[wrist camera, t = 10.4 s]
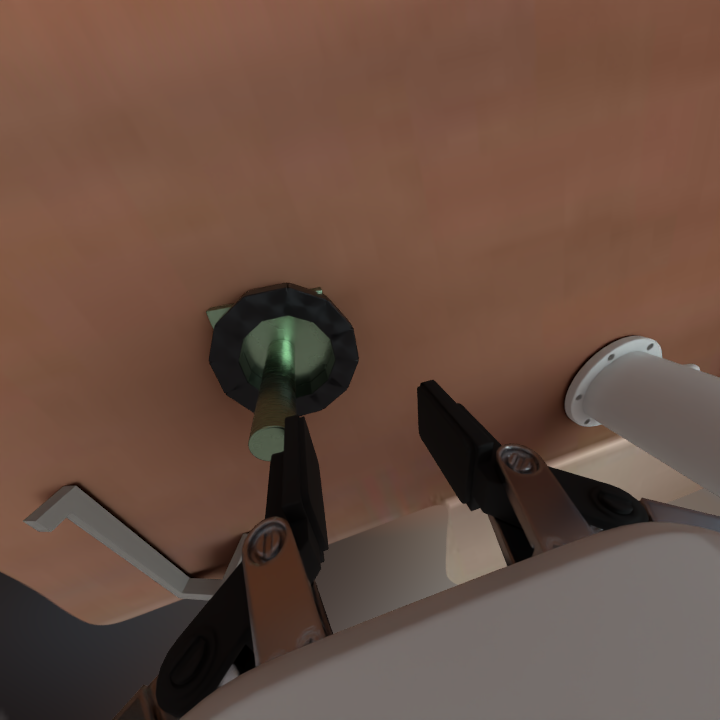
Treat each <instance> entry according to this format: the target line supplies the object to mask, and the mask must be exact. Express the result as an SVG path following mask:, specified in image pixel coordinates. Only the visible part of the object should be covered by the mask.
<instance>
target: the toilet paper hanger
mask: <svg viewBox="0 0 720 720" xmlns="http://www.w3.org/2000/svg"><path fill="white" fill-rule="evenodd" d="M65 518H68V519H69V520H71V521H72V522H73V523H75V524H76V525H78V526H79V527H80V528H82V529H83V530H85V531H86V532H87V533H89V534H90V535H92V536H93V537H94V538H96V539H97V540H99V541H100V542H101V543H103V544H104V545H106V546H107V547H108V548H110V549H111V550H113V551H114V552H115V553H117V554H118V555H120V556H121V557H122V558H124V559H125V560H127V561H128V562H129V563H131V564H132V565H134V566H135V567H136V568H138V569H139V570H141V571H142V572H143V573H145V574H146V575H148V576H149V577H150V578H152V579H153V580H155V581H156V582H157V583H159V584H160V585H162V586H163V587H164V588H166V589H167V590H168V591H170V592H171V593H173V594H174V595H175V596H177V597H178V598H183V599H199V600H210V599H211V598H212V597H213V595H214V594H215V593H216V592H217V590H218V589H219V588H220V587H221V586H222V584H223V583H224V582H225V581H226V580H227V578H228V577H229V576H230V575H231V574H232V572H233V571H234V570H235V569H236V567H237V566H238V565H239V564H240V563H241V561H242V547H243V544H244V540H245V539H246V537H247V535H248V534H243V535H242V537H241V540H240V542H239V544H238V546H237V548H236V551H235V553H234V555H233V557H232V559H231V562H230V564H229V566H228V568H227V570H226V573H225V575H224V577H223V579H199V578H189V577H188V576H187V575H185V574H184V573H183V572H182V571H180V570H179V569H178V568H177V567H176V566H174V565H173V564H172V563H171V562H169V561H168V560H167V559H166V558H164V557H163V556H162V555H161V554H160V553H158V552H157V551H156V550H155V549H153V548H152V547H151V546H150V545H148V544H147V543H146V542H145V541H143V540H142V539H141V538H140V537H139V536H137V535H136V534H135V533H134V532H132V531H131V530H130V529H129V528H127V527H126V526H125V525H124V524H123V523H121V522H120V521H119V520H118V519H116V518H115V517H114V516H113V515H111V514H110V513H109V512H108V511H107V510H105V509H104V508H103V507H102V506H100V505H99V504H98V503H97V502H95V501H94V500H93V499H92V498H91V497H89V496H88V495H87V494H86V493H84V492H83V491H82V490H81V489H79V488H78V487H77V486H63V487H62V488H61V489H60V490H59V491H57V492H56V493H55V494H54V495H53V496H52V497H50V498H49V499H48V500H47V501H46V502H45V503H43V504H42V505H41V506H40V507H39V508H38V509H36V510H35V511H34V512H33V513H32V514H31V515H29V516H28V517H27V518H26V519H25V520H23V522H25V523H26V524H28V525H29V526H31V527H33V528H34V529H36V530H37V531H39V532H52V531H53V530H54V529H55V528H56V527H57V526H58V525H59V524H60V523H61V522H62V521H63V520H64V519H65Z"/></svg>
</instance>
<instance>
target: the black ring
mask: <svg viewBox="0 0 720 720" xmlns="http://www.w3.org/2000/svg"><path fill="white" fill-rule="evenodd" d="M284 316H291V317H295V318H298V319H302V320H306V321H309V322H313V323H314V324H315V325H316V326H317V327H318V328H319V329H320V330H321V331H322V332H323V333H324V334H325V335H326V336H327V337H328V338H329V341H330V345H331V349H332V352H331V355H330V358H329V361H328V364H327V367H326V369H325V370H324V371H323V372H322V373H321V374H320V375H318V376H317V377H316V378H315V379H314V380H313V381H312V382H310V383H306V384H302V385H298V386H296V415H299V416H302V415H306V414H309V413H313V412H317V411H320V410H322V408H323V409H324V408H326V407H327V406H328V405H329V404H330V403H332V402H333V401H334V400H335V399H336V398H337V397H339V396H340V395H341V394H342V393H343V392H345V391H346V390H347V388H348V387H349V384H350V381H351V379H352V376H353V374H354V371H355V369H356V366H357V364H358V361H359V360H358V359H359V357H358V351H357V346H356V340H355V335H354V329H353V327H352V325H351V324H350V322H349V321H348V319H347V318H346V317H345V316H344V315H343V314H342V312H341V311H340V310H339V309H338V308H337V307H336V306H335V305H334V304H333V303H332V301H331V300H330V299H329V298H328V297H327V296H326V295H324V294H322V293H319V292H316V291H313V290H310V289H307V288H304V287H301V286H298V285H295V284H291V283H282V284H278V285H273V286H268V287H263V288H258V289H253V290H249V291H247V292H246V293H245V294H244V295H243V296H242V297H241V298H240V299H239V300H238V301H237V302H236V303H235V304H234V305H233V306H232V307H231V308H230V309H229V310H228V311H227V312H226V313H225V314H224V315H222V317H221V318H220V319H219V320H218V321H217V323H216V324H215V326H214V331H213V337H212V343H211V349H210V356H209V361H210V365H211V367H212V369H213V371H214V373H215V375H216V377H217V379H218V381H219V383H220V385H221V387H222V389H223V391H224V393H226V395H227V396H229V397H230V398H232V399H233V400H235V401H236V402H238V403H239V404H241V405H243V406H244V407H246V408H247V409H249V410H250V411H252V412H253V413H255V408H256V403H257V399H258V394H259V389H260V384H261V378H260V377H259V376H257V375H256V374H255V373H253V372H252V371H251V369H250V367H249V365H248V362H247V360H246V358H245V355H244V353H243V349H244V344H245V340H246V336H247V335H248V334H249V333H250V332H251V331H252V330H253V329H254V328H256V327H257V326H258V325H259V324H260V323H261V322H262V321H266V320H271V319H275V318H280V317H284Z"/></svg>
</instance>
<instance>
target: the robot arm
mask: <svg viewBox="0 0 720 720" xmlns="http://www.w3.org/2000/svg"><path fill="white" fill-rule="evenodd" d="M417 398H418V426H419V434H420V437H421V439H422V441H423V442H424V444H425V445H426V447H427V449H428V450H429V452H430V453H431V455H432V457H433V458H434V460H435V461H436V463H437V465H438V466H439V468H440V469H441V471H442V473H443V474H444V476H445V477H446V479H447V481H448V482H449V484H450V485H451V487H452V489H453V490H454V492H455V493H456V495H457V497H458V498H459V500H460V501H461V502H462V503H463V504H464V503H466V504H467V505H468V507H469V508H470V510H471V511H473V510H476V509H479V508H481V510H482V511H483V513H486V514H488V516H489V519H490V522H491V524H492V527H493V530H494V532H495V535H496V537H497V540H498V543H499V545H500V548H501V550H502V553H503V556H504V558H505V561H506V563H507V567H504V568H502V569H499V570H496V571H494V572H491V573H489V574H486V575H483V576H481V577H478V578H476V579H473V580H471V581H468V582H465V583H463V584H460V585H458V586H455V587H453V588H450V589H447V590H445V591H442V592H440V593H437V594H434V595H432V596H429V597H427V598H424V599H421V600H419V601H416V602H414V603H411V604H409V605H406V606H403V607H401V608H398V609H396V610H393V611H391V612H388V613H386V614H383V615H381V616H378V617H375V618H373V619H371V620H368V621H365V622H363V623H360V624H358V625H355V626H353V627H350V628H348V629H345V630H343V631H340V632H337V633H335V634H333V632H332V629H331V626H330V623H329V620H328V618H327V614H326V611H325V609H324V606H323V603H322V600H321V597H320V594H319V591H318V588H317V585H316V582H315V578H316V576H317V575H318V573H319V571H320V570H321V565H320V563H322V562H324V553H323V551H325V550H328V539H327V530H326V522H325V513H324V504H323V496H322V487H321V478H320V470H319V463H318V459H317V456H316V453H315V450H314V446H313V443H312V440H311V437H310V433H309V430H308V427H307V424H306V420H305V418H304V417H299V415H294V416H290V417H286V418H285V427H284V451H282V452H279V453H275V454H272V456H271V462H270V472H269V483H268V493H267V504H266V515H265V519H264V520H262V521H261V522H259V523H258V524H257V525H255V526H254V528H253V529H252V530H251V531H250V532H249V533H248V535H247V537H246V539H245V540H244V544H243V547H242V561H241V563H240V564H239V565H238V566H237V567H236V569H235V570H234V571H233V572H232V574H231V575H230V576H229V577H228V578H227V580H226V581H225V582H224V583H223V584H222V586H221V587H220V588H219V589H218V590H217V592H216V593H215V594H214V595H213V597H212V598H211V599H210V600H209V601H208V603H207V604H206V605H205V606H204V608H203V609H202V610H201V611H200V612H199V614H198V615H197V616H196V617H195V618H194V620H193V621H192V622H191V623H190V624H189V626H188V627H187V628H186V629H185V631H184V632H183V633H182V634H181V635H180V637H179V638H178V639H177V640H176V642H175V643H174V645H173V646H172V647H171V649H170V650H169V652H168V653H167V655H166V657H165V659H164V662H163V664H162V666H161V668H160V672H159V675H158V676H157V677H156V678H155V679H154V680H153V681H152V682H151V683H150V685H149V686H148V687H147V686H145V685H143V686H142V687H141V688H140V690H139V691H138V692H137V693H136V694H135V695H134V696H133V697H132V698H131V700H130V701H129V702H128V703H127V704H126V705H125V706H124V707H123V708H122V709H121V711H120V712H119V713H118V714H117V715H116V716H115V717H114V719H112V720H720V516H716V515H711V514H707V513H703V512H699V511H695V510H691V509H686V508H682V507H678V506H674V505H669V504H666V503H662V502H657V501H653V500H649V499H645V498H641V500H640V501H638V500H637V499H635V498H634V497H633V496H631V495H630V494H629V493H627V492H625V491H623V490H622V489H620V488H617V487H615V486H612V485H610V484H606V483H603V482H599V481H596V480H593V479H589V478H586V477H582V476H579V475H576V474H572V473H569V472H566V471H562V470H559V469H555V468H552V467H549V466H547V465H546V463H545V462H544V460H543V459H542V458H541V457H540V456H539V455H538V453H536V452H535V451H533V450H532V449H530V448H528V447H526V446H523V445H519V444H505V445H503V446H502V445H501V444H500V443H499V442H498V441H497V440H496V439H495V438H494V437H493V436H492V435H491V434H490V433H489V432H488V431H487V430H486V429H485V428H484V427H483V426H482V425H481V424H480V423H479V422H478V421H477V420H476V419H475V418H474V417H473V416H472V415H471V414H470V413H469V412H468V411H467V410H466V409H465V407H464V406H462V405H461V404H459V403H456V402H455V401H454V400H453V399H452V398H451V397H450V396H449V395H448V394H447V393H446V392H445V391H444V390H443V389H442V388H441V387H440V386H439V385H438V384H437V383H436V382H435V381H434V380H430V381H426V382H422V383H421V384H420V387H418V388H417ZM565 411H566V414H567V416H568V417H569V418H570V419H571V420H572V421H574V422H575V423H577V424H578V425H581V426H588V427H591V426H598V425H601V424H602V425H603V426H605V427H607V428H608V429H610V430H612V431H613V432H615V433H616V434H618V435H620V436H621V437H623V438H624V439H626V440H628V441H629V442H631V443H632V444H634V445H636V446H637V447H639V448H641V449H642V450H644V451H645V452H647V453H649V454H650V455H652V456H653V457H655V458H657V459H658V460H660V461H661V462H663V463H665V464H666V465H668V466H670V467H671V468H673V469H674V470H676V471H678V472H679V473H681V474H682V475H684V476H686V477H687V478H689V479H690V480H692V481H694V482H695V483H697V484H699V485H700V486H702V487H703V488H705V489H707V490H708V491H710V492H711V493H713V494H715V495H716V496H718V497H720V378H719V377H716V376H713V375H711V374H708V373H705V372H702V371H700V368H699V367H698V366H697V365H695V364H686V365H681V364H678V363H675V362H672V361H669V360H666V359H663V358H662V350H661V348H660V345H659V344H658V343H657V342H656V341H654V340H652V339H650V338H646V337H642V336H629V337H625V338H622V339H619V340H617V341H615V342H613V343H611V344H609V345H608V346H606V347H604V348H603V349H601V350H600V351H599V352H597V353H596V354H595V355H594V356H593V357H592V358H591V359H590V360H588V361H587V362H586V363H585V365H584V366H583V367H582V368H581V369H580V370H579V372H578V373H577V375H576V376H575V378H574V379H573V381H572V383H571V385H570V387H569V389H568V391H567V394H566V398H565Z"/></svg>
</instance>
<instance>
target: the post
mask: <svg viewBox="0 0 720 720" xmlns="http://www.w3.org/2000/svg"><path fill="white" fill-rule="evenodd" d="M310 290H313V291H316V292H319V293H322V289H321V288H320V287H318V288H313V289H310ZM322 294H323V293H322ZM234 304H235V303H233V304H228V305H223V306H217V307H212V308H209V309H208V310H207V311H206V313H207V316H208V318H209V320H210V323H211V325H212V327H213V330H214V326H215V324H216V323H217V321H218V320H219V319H220V318H221V317H222V315H224V314H225V313H226V312H227V311H228V310H229V309H230V308H231V307H232V306H233V305H234ZM331 352H332V349H331V345H330V341H329V338H328V337H327V336H326V335H325V334H324V333H323V332H322V331H321V330H320V329H319V328H318V327H317V326H316V325H315V324H314V323H313V322H309V321H306V320H302V319H298V318H295V317H291V316H284V317H280V318H275V319H271V320H266V321H262V322H261V323H260V324H259V325H258V326H257V327H256V328H254V329H253V330H252V331H251V332H250V333H249V334H248V335H247V336H246V340H245V344H244V349H243V353H244V355H245V358H246V360H247V362H248V365H249V367H250V369H251V371H252V372H253V373H255V374H256V375H257V376H259V377H260V378H261V384H260V389H259V394H258V399H257V403H256V408H255V413H254V418H253V423H252V427H251V432H250V437H249V442H248V446H249V450H250V452H251V453H252V454H253V455H254V456H255V457H256V458H258V459H261V460H264V461H271V456H272V454H275V453H279V452H282V451H284V427H285V418H286V417H290V416H294V415H296V386H298V385H302V384H306V383H310V382H312V381H313V380H314V379H315V378H316V377H317V376H318V375H320V374H321V373H322V372H323V371H324V370H325V369H326V367H327V364H328V361H329V358H330V355H331Z"/></svg>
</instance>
